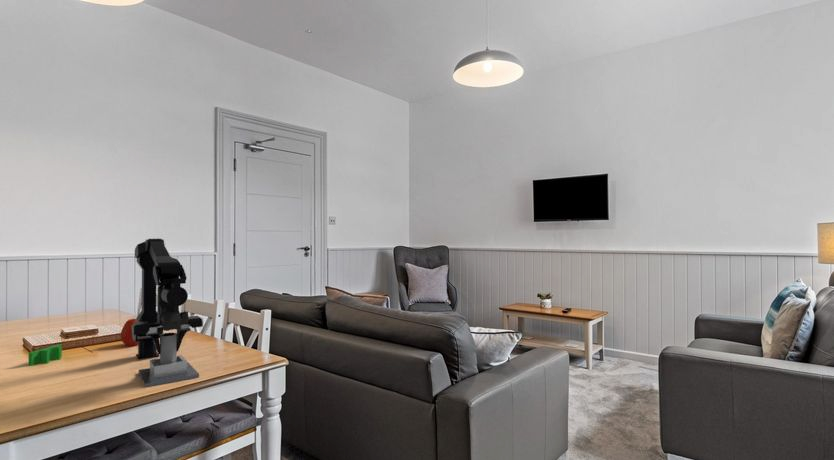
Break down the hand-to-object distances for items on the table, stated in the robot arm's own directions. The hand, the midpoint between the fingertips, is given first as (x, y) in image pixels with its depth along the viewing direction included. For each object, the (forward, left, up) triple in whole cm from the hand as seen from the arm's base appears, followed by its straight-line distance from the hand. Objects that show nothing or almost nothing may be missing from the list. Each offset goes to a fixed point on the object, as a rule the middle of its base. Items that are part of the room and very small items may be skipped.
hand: (168, 352), depth 141 cm
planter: (0, 0, -5) cm, 5 cm away
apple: (-50, -4, -7) cm, 51 cm away
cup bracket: (0, 0, -7) cm, 7 cm away
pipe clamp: (-42, -29, -7) cm, 52 cm away
